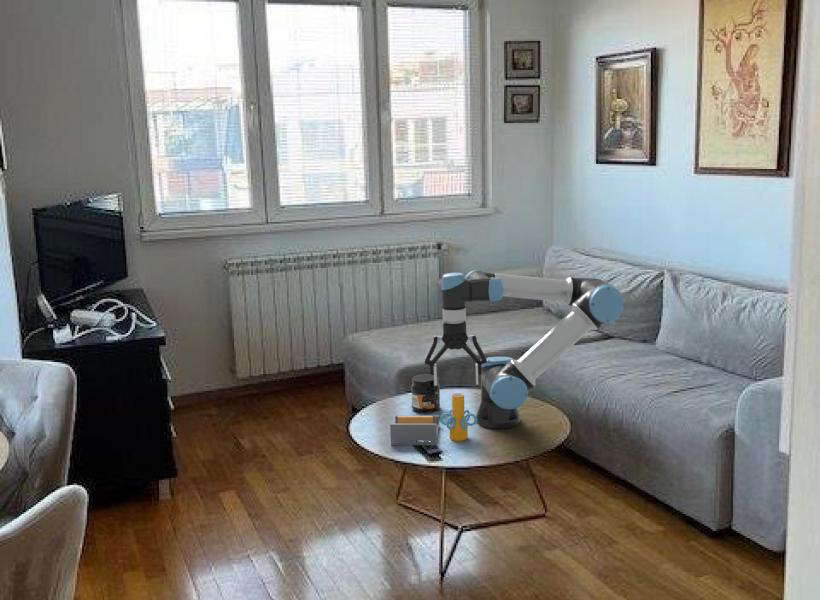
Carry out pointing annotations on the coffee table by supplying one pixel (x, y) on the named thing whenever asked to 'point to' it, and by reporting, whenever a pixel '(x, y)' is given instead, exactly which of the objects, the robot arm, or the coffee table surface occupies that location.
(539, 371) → the robot arm
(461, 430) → the cylinder
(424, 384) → the supplement container
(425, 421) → the bar
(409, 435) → the frame
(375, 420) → the coffee table surface
